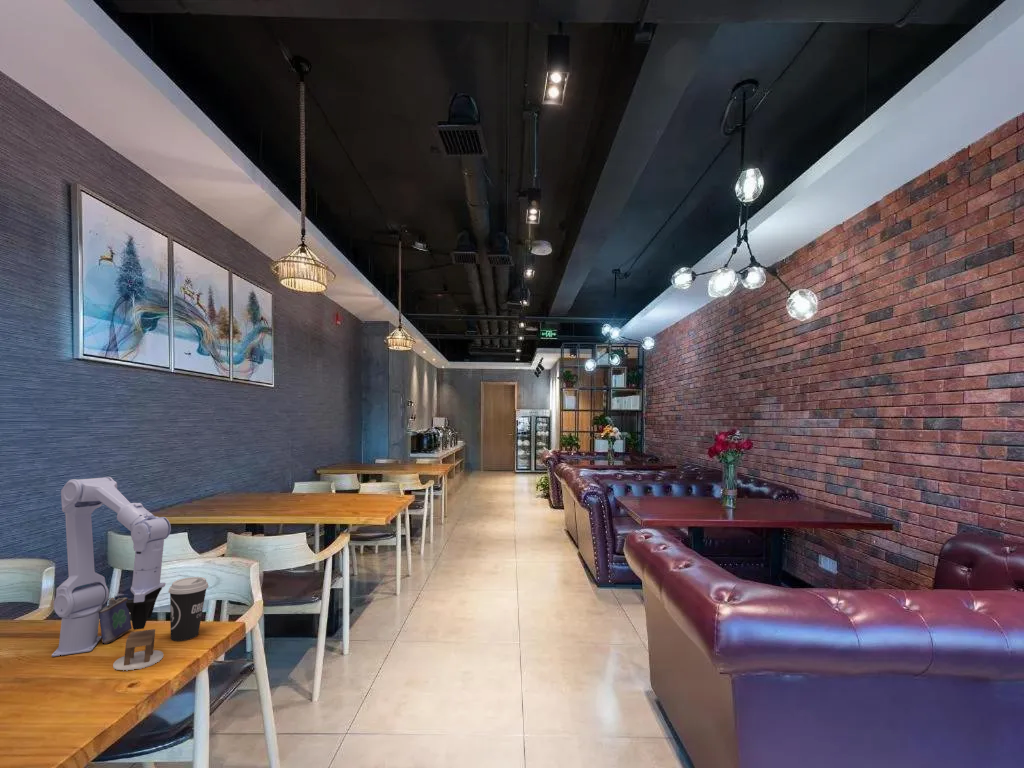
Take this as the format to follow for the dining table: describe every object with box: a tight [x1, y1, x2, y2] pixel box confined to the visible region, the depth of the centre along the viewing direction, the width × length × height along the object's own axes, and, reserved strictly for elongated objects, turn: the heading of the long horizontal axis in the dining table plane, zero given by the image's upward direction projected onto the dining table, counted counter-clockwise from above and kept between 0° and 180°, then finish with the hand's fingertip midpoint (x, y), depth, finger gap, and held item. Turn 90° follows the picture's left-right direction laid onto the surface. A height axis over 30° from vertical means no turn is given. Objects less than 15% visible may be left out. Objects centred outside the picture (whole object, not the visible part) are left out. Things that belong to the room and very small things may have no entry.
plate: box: [112, 649, 164, 672], centre depth 121 cm, size 10×10×1 cm
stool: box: [124, 628, 156, 666], centre depth 122 cm, size 5×5×6 cm
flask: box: [98, 596, 133, 645], centre depth 135 cm, size 9×3×11 cm, turn 2°
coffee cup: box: [167, 576, 209, 642], centre depth 137 cm, size 10×10×15 cm
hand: (142, 623), depth 122 cm, fingers open, 7 cm apart
